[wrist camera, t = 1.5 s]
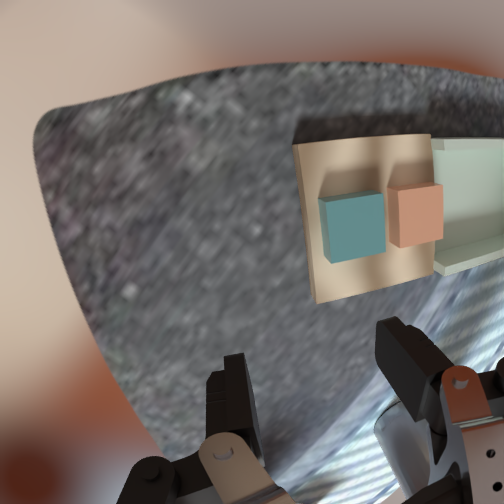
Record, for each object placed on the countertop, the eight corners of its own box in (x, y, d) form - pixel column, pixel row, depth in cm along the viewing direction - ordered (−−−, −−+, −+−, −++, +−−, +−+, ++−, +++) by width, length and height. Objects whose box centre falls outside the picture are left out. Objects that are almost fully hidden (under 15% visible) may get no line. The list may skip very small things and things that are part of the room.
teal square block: (372, 189, 25) (383, 193, 23) (375, 244, 27) (385, 252, 25) (317, 198, 25) (325, 202, 23) (323, 255, 27) (331, 263, 25)
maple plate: (418, 133, 26) (430, 133, 24) (423, 266, 31) (433, 273, 29) (291, 144, 25) (297, 144, 24) (310, 294, 30) (316, 304, 28)
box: (506, 137, 27) (529, 140, 23) (506, 238, 31) (526, 248, 27) (418, 138, 26) (443, 139, 22) (423, 262, 30) (444, 276, 27)
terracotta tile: (430, 181, 26) (443, 184, 24) (431, 232, 27) (443, 238, 25) (386, 187, 25) (398, 190, 23) (389, 241, 27) (400, 248, 25)
